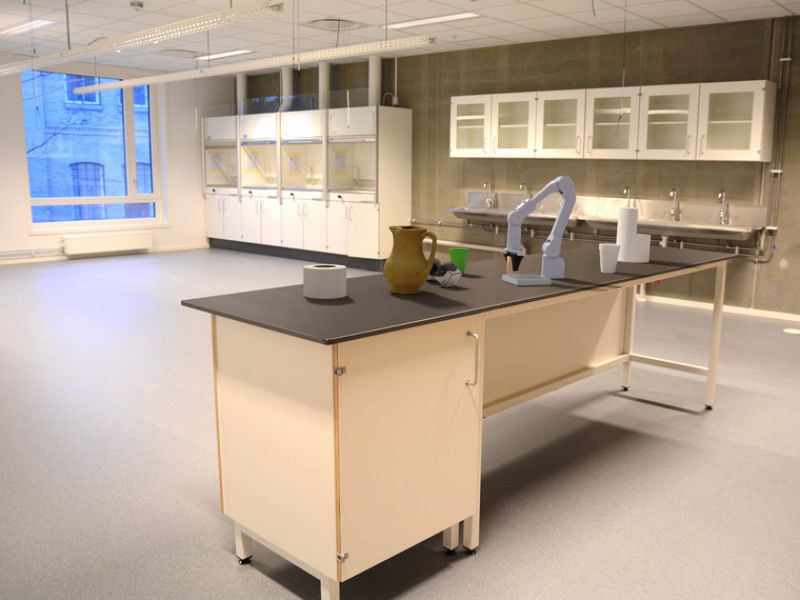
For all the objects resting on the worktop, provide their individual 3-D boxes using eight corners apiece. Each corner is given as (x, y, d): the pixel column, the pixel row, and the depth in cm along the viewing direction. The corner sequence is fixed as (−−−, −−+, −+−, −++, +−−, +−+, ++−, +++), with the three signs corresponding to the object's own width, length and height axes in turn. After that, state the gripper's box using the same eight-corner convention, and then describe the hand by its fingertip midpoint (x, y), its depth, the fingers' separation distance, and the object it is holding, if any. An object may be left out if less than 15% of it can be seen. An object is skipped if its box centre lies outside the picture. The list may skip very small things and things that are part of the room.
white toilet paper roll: (299, 293, 270) (298, 263, 268) (339, 291, 276) (339, 262, 274) (309, 300, 256) (309, 269, 254) (351, 298, 261) (351, 268, 260)
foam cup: (620, 272, 347) (622, 244, 344) (615, 274, 339) (617, 245, 337) (601, 270, 352) (602, 243, 349) (594, 272, 344) (596, 244, 342)
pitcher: (405, 285, 290) (407, 222, 285) (440, 293, 278) (443, 227, 272) (373, 290, 279) (375, 225, 273) (408, 300, 266) (410, 231, 260)
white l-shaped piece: (617, 261, 387) (621, 208, 382) (613, 258, 404) (616, 206, 399) (651, 263, 384) (655, 209, 379) (646, 259, 401) (650, 207, 396)
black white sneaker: (415, 280, 309) (415, 256, 307) (436, 279, 313) (436, 255, 311) (442, 289, 286) (443, 263, 285) (465, 288, 290) (466, 262, 289)
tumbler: (515, 274, 325) (516, 255, 324) (520, 275, 320) (521, 257, 319) (504, 274, 324) (505, 256, 323) (509, 275, 319) (510, 257, 318)
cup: (468, 272, 334) (469, 248, 332) (468, 275, 325) (468, 250, 323) (448, 271, 335) (449, 247, 333) (447, 274, 326) (448, 249, 324)
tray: (534, 279, 316) (534, 274, 316) (551, 284, 302) (551, 279, 301) (501, 280, 312) (502, 274, 312) (516, 285, 298) (517, 279, 297)
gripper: (498, 237, 325) (497, 268, 328) (512, 240, 311) (511, 272, 314) (513, 237, 327) (512, 267, 330) (527, 240, 313) (526, 272, 316)
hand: (512, 270), depth 322 cm, fingers closed on tumbler, 5 cm apart
